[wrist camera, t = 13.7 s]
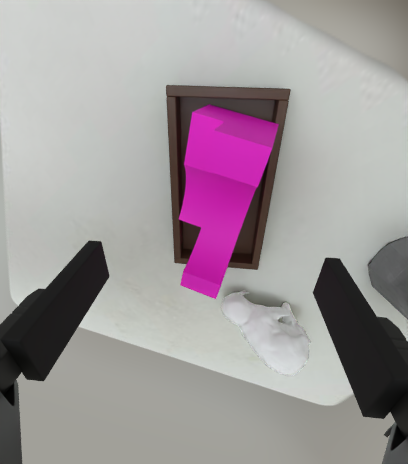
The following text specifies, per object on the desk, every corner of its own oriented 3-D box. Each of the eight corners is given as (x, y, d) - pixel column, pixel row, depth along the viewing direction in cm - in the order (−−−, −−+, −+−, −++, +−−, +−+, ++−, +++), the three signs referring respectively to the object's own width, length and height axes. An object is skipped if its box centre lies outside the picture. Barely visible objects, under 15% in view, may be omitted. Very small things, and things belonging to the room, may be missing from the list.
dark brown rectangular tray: (172, 85, 22) (165, 85, 20) (284, 88, 21) (290, 89, 19) (178, 250, 32) (174, 263, 30) (255, 256, 31) (257, 269, 29)
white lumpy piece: (286, 391, 30) (204, 347, 29) (280, 334, 38) (214, 298, 37) (322, 368, 27) (233, 319, 26) (308, 311, 35) (237, 271, 34)
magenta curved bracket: (209, 104, 21) (176, 119, 15) (278, 124, 20) (272, 148, 14) (184, 235, 30) (157, 276, 24) (231, 252, 29) (215, 299, 24)
